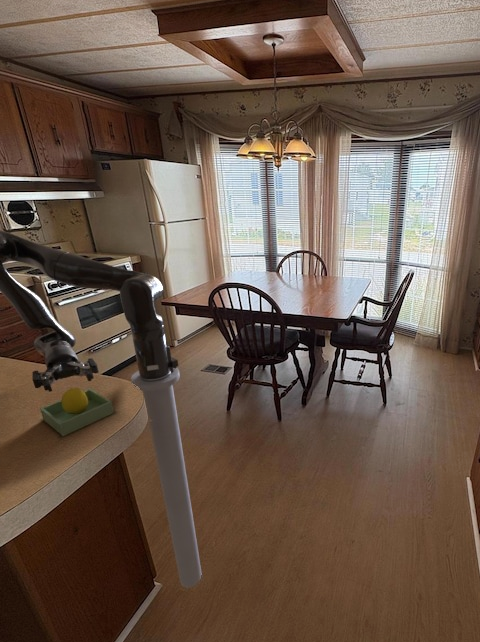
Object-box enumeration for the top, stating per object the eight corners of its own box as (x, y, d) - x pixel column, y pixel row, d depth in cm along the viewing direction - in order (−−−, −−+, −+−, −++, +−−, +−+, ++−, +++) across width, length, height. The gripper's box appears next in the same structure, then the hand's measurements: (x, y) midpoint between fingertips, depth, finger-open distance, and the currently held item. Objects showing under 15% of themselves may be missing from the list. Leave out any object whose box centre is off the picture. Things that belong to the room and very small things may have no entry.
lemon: (67, 411, 92) (60, 385, 89) (92, 406, 95) (85, 381, 91) (64, 422, 88) (56, 396, 85) (89, 417, 90) (82, 391, 87)
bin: (93, 399, 99) (90, 388, 97) (114, 412, 93) (111, 401, 92) (43, 420, 89) (39, 408, 88) (63, 436, 84) (59, 424, 82)
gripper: (26, 355, 94) (30, 378, 83) (87, 343, 103) (98, 362, 92) (34, 379, 97) (39, 404, 86) (93, 365, 106) (104, 386, 95)
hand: (70, 383), depth 89 cm, fingers open, 8 cm apart
